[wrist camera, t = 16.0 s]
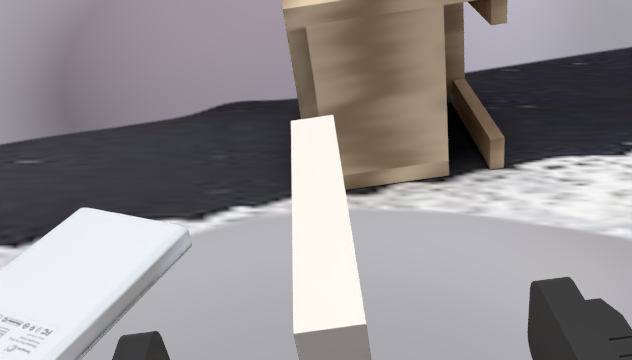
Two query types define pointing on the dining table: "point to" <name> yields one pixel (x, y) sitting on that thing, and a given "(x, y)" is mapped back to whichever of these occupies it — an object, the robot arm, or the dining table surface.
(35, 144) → the dining table surface
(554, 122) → the dining table surface
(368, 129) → the box
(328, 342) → the cover plate
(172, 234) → the external hard drive
